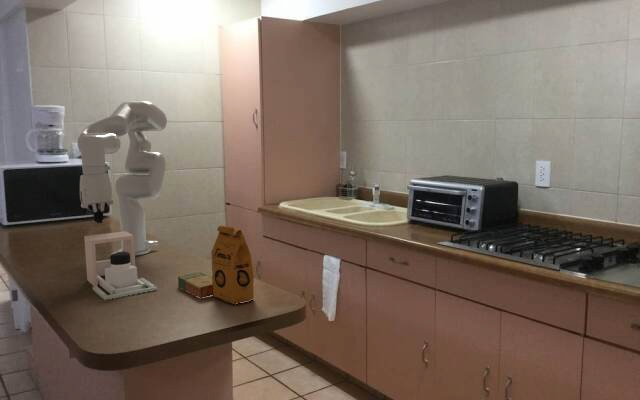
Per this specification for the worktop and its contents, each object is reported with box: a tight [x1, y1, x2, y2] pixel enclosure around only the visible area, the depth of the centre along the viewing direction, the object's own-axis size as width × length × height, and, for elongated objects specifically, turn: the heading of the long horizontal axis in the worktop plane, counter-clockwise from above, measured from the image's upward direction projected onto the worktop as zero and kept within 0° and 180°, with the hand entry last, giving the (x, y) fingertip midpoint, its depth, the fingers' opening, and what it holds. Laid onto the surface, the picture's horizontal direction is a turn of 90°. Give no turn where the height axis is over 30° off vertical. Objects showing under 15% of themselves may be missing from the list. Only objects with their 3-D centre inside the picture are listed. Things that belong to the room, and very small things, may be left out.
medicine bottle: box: [104, 251, 139, 289], centre depth 180 cm, size 7×7×12 cm
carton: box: [177, 271, 213, 298], centre depth 177 cm, size 8×16×4 cm, turn 38°
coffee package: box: [210, 225, 255, 305], centre depth 167 cm, size 10×12×22 cm
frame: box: [92, 277, 158, 301], centre depth 179 cm, size 16×13×1 cm
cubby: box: [83, 231, 136, 287], centre depth 189 cm, size 14×9×15 cm, turn 126°
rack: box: [96, 259, 146, 295], centre depth 186 cm, size 10×26×5 cm, turn 36°
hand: (98, 222), depth 199 cm, fingers closed
